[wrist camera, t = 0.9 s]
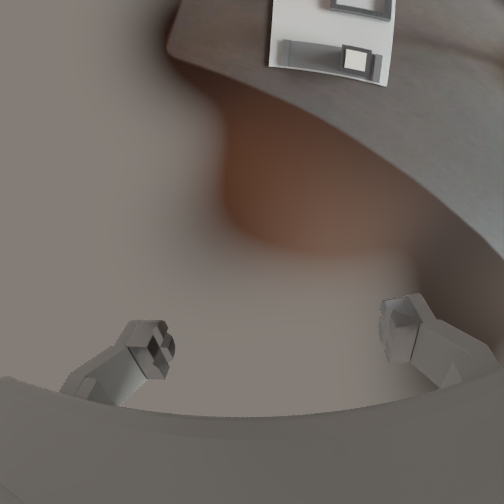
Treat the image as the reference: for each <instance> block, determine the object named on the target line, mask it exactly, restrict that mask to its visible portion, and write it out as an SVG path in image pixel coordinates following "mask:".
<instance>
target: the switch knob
mask: <svg viewBox="0 0 504 504" xmlns="http://www.w3.org/2000/svg"><path fill="white" fill-rule="evenodd" d="M371 54H372V50H368V49H364V48H359V47H354V46H349V45H344V44H342V51H341V61H340V69H339V71H341V72H346V73H351V74H355V75H360V76H364V77H369V71H370V63H371Z"/></svg>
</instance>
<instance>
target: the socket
mask: <svg viewBox="0 0 504 504" xmlns="http://www.w3.org/2000/svg"><path fill="white" fill-rule="evenodd" d="M330 9H331V11H337V12H344V13H350V14H355V15H360V16H365V17H370V18H375V19H379V20H383V21H387V22H390V20H391V11H392V0H385V13H381V12H376V11H372V10H367V9H362V8H357V7H352V6H346V5H339V4H337V0H330Z"/></svg>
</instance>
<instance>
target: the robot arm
mask: <svg viewBox="0 0 504 504" xmlns="http://www.w3.org/2000/svg"><path fill="white" fill-rule="evenodd" d="M380 310H381V313H382V316H381V317H380V318H379V325H378V327H379V336H380V340H381V343H382V344H384V345H385V355H386V358H387V361H388V364H389V365H392V364H397V363H403V362H408V361H410V363H412V364H413V365H414V366H415V367H416V368H418V369H419V370H420V371H421V372H422V373H424V374H425V375H426V376H427V377H428V378H429V379H430V380H431V381H433V382H434V383H435V384H436V385H438V387H440V389H439V390H436V391H433V392H429V393H425V394H421V395H417V396H414V397H409V398H405V399H401V400H397V401H392V402H387V403H382V404H377V405H372V406H366V407H360V408H354V409H348V410H341V411H333V412H325V413H315V414H305V415H293V416H273V417H213V416H212V417H211V416H195V415H194V416H193V415H181V414H171V413H161V412H153V411H145V410H138V409H131V408H126V407H120V405H121V404H122V403H123V402H124V401H125V400H126V399H127V398H128V397H129V396H130V395H132V394H133V393H134V392H135V391H136V390H137V389H138V388H139V387H140V385H142V384H143V383H144V382H145V381H146V380H147V379H164V380H165V378H166V375H167V373H168V370H169V368H170V367H169V364H168V362H170V361H171V360H172V359H173V357H174V354H175V343H174V340H173V338H172V336H171V335H170V334H168V333H167V330H168V326H167V325H166V322H165V321H163V320H131V321H129V322H128V323H127V325H126V327H125V328H124V330H123V332H122V333H121V335H120V336H119V338H118V340H117V341H116V343H115V345H114V346H110V347H109V348H107V349H106V350H104V351H103V352H101V353H100V354H98V355H97V356H96V357H94V358H92V359H91V360H89V361H88V362H86V363H85V364H83V365H82V366H80V367H79V368H77V369H76V370H74V371H73V372H71V373H70V375H69V376H68V378H67V379H66V381H65V383H64V384H63V386H62V387H61V389H60V391H59V392H55V391H51V390H48V389H45V388H41V387H38V386H35V385H32V384H29V383H26V382H23V381H20V380H18V379H15V378H12V377H10V376H4V377H1V378H0V504H504V366H503V367H501V368H500V366H499V364H498V362H497V361H496V359H495V357H494V355H493V354H492V352H491V350H490V349H489V347H488V345H486V344H484V343H482V342H481V341H479V340H477V339H475V338H473V337H472V336H470V335H468V334H466V333H464V332H462V331H460V330H459V329H457V328H455V327H453V326H451V325H449V324H447V323H445V322H444V321H442V320H436V318H435V317H434V315H433V313H432V311H431V310H430V308H429V307H428V305H427V303H426V302H425V300H424V299H423V297H422V296H421V294H419V293H418V294H413V295H408V296H405V297H399V298H393V299H387V300H382V302H381V306H380Z"/></svg>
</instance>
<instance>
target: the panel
mask: <svg viewBox="0 0 504 504" xmlns="http://www.w3.org/2000/svg"><path fill="white" fill-rule="evenodd" d="M395 2H396V0H392V11H391V20H390V22H387V21H383V20H379V19H375V18H370V17H365V16H360V15H355V14H350V13H344V12H337V11H331V9H330V0H274V1H273V15H272V29H271V43H270V56H269V67H281V68H290V69H298V70H306V71H313V72H320V73H326V74H331V75H337V76H342V77H347V78H352V79H357V80H361V81H365V82H370V83H374V84H378V85H381V86H385V87H387V82H388V75H389V67H390V59H391V51H392V41H393V31H394V18H395ZM337 4H339V5H346V6H352V7H357V8H362V9H367V10H372V11H376V12H381V13H385V0H337ZM342 44H344V45H349V46H354V47H359V48H364V49H368V50H372V54H371V63H370V71H369V77H364V76H360V75H355V74H351V73H346V72H341V71H339V69H340V61H341V51H342Z"/></svg>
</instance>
